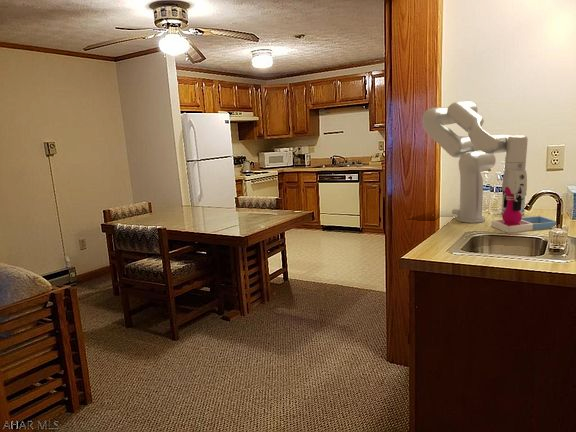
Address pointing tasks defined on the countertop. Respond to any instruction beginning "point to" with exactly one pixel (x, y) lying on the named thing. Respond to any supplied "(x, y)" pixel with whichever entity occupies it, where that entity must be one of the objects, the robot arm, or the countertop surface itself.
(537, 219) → the frame
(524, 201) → the supplement tub
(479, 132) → the robot arm
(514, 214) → the pepper mill
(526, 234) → the countertop surface
